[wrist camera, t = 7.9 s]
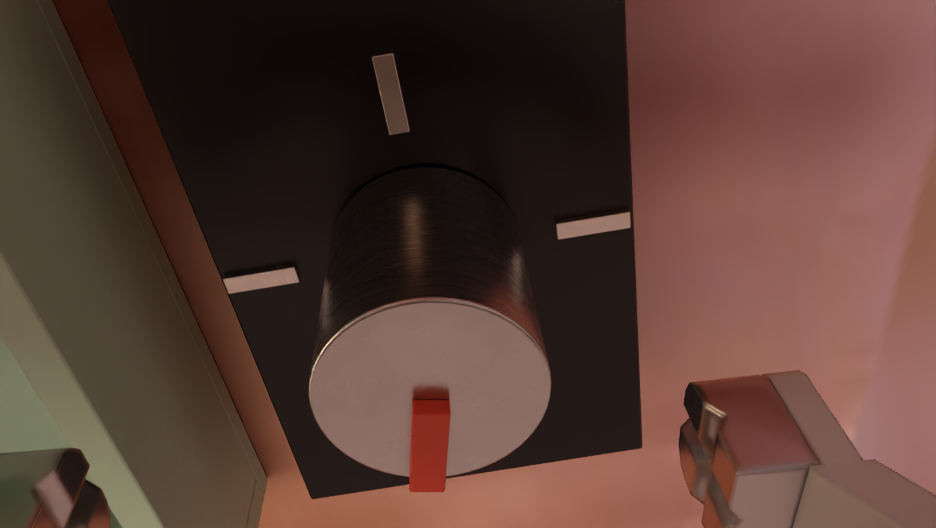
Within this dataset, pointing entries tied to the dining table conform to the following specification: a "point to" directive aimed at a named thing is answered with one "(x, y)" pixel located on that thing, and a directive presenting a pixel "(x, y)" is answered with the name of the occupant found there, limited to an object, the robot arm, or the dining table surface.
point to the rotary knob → (427, 330)
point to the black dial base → (402, 147)
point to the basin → (102, 307)
